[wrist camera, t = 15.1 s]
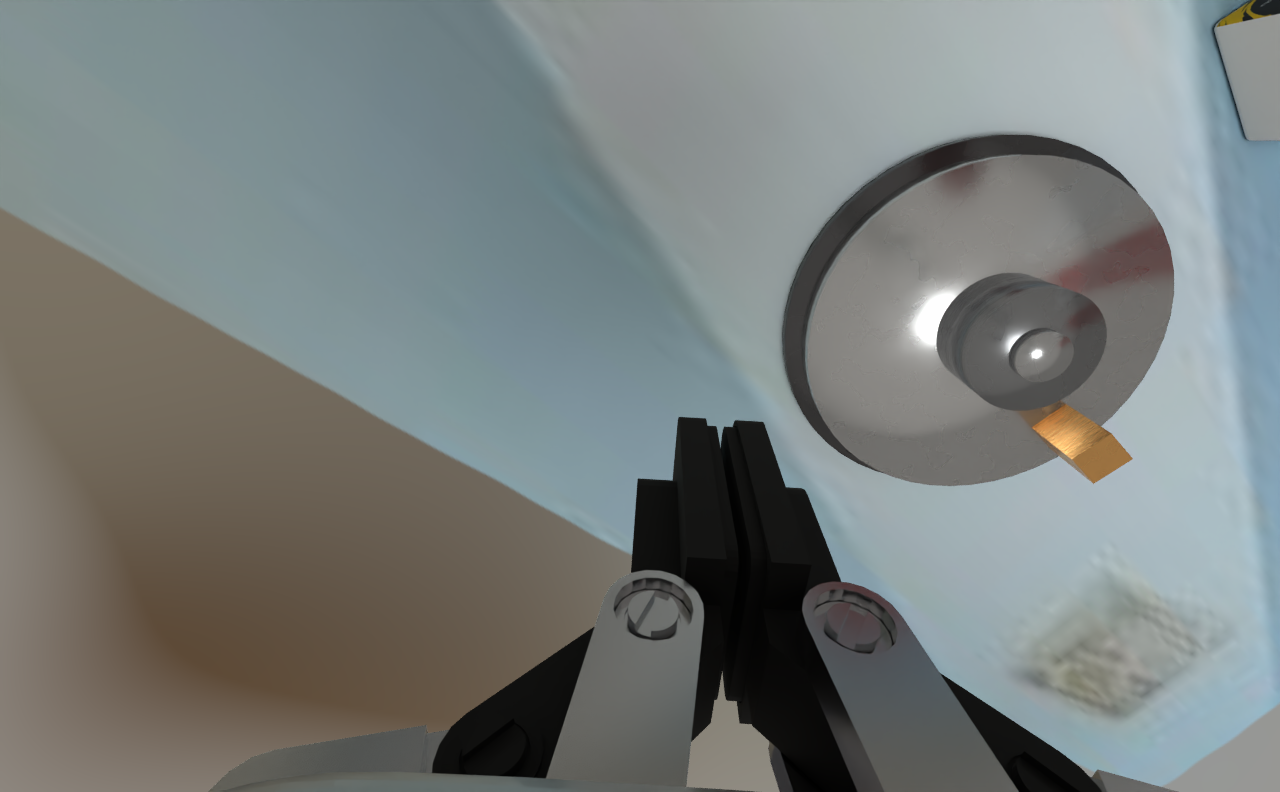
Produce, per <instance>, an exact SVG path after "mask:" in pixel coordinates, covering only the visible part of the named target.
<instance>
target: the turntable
mask: <svg viewBox="0 0 1280 792" xmlns="http://www.w3.org/2000/svg"><path fill="white" fill-rule="evenodd" d="M1011 272H1012V273H1022V274H1027V275H1030V276H1033V277H1036V278H1039V279H1041V280H1044V281H1047V282H1050V283H1052V284H1055V285H1058V286H1061V287H1064V288H1066V289H1069V290H1072V291H1075V292H1077V293H1080V294H1082V295H1084V296H1086V297H1087V298H1089V299H1090V300H1091V301H1093V302H1094V303H1095V304H1096V306H1097V307H1098V308H1099V309H1100V311H1101V313H1102V314H1103V317H1104V320H1105V323H1106V328H1107V339H1106V346H1105V349H1104V353H1103V355H1102V358H1101V360H1100V362H1099V364H1098V365H1097V367H1096V369H1095V370H1094V372H1093V373H1092V374H1091V376H1090V377H1089V378H1088V379H1087V380H1086V381H1085V382H1084V383H1083V384H1082V385H1081V386H1080V387H1079V388H1078V389H1077V390H1075V391H1074V392H1073V393H1071V394H1070V395H1068V396H1067V397H1065V398H1063V399H1062V400H1060V401H1058V402H1056V403H1053V404H1051V405H1048V406H1046V407H1042V408H1038V409H1033V410H1026V411H1013V410H1006V409H1002V408H999V407H996V406H994V405H992V404H990V403H988V402H987V401H985V400H984V399H982V398H981V397H980V396H979V395H977V394H976V393H975V392H974V391H973V390H971V389H970V388H969V387H968V386H966V385H965V384H964V383H963V382H962V381H960V380H959V379H958V378H957V377H955V376H954V375H953V374H952V373H951V372H949V371H948V370H947V369H946V367H945V366H944V365H943V363H942V362H941V360H940V358H939V355H938V352H937V346H936V336H937V330H938V326H939V323H940V320H941V318H942V316H943V314H944V312H945V311H946V309H947V308H948V306H949V305H950V303H951V302H952V301H953V300H954V299H955V298H956V297H957V296H958V295H959V294H960V293H961V292H962V291H963V290H965V289H966V288H967V287H969V286H970V285H972V284H974V283H975V282H977V281H979V280H981V279H984V278H986V277H989V276H992V275H996V274H1001V273H1011ZM1173 296H1174V269H1173V263H1172V257H1171V251H1170V247H1169V244H1168V241H1167V239H1166V236H1165V233H1164V230H1163V228H1162V226H1161V224H1160V223H1159V221H1158V219H1157V218H1156V216H1155V214H1154V212H1153V211H1152V209H1151V208H1150V207H1149V206H1148V205H1147V203H1146V202H1145V201H1144V200H1143V199H1142V198H1141V196H1140V195H1139V194H1138V193H1137V192H1136V191H1134V190H1133V189H1132V188H1131V187H1129V186H1128V185H1127V184H1126V183H1124V182H1123V181H1122V180H1121V179H1119V178H1117V177H1115V176H1114V175H1112V174H1110V173H1108V172H1106V171H1104V170H1103V169H1101V168H1099V167H1096V166H1093V165H1090V164H1087V163H1084V162H1081V161H1078V160H1074V159H1068V158H1063V157H1057V156H1051V155H1014V154H1002V155H993V156H984V157H977V158H973V159H969V160H965V161H960V162H956V163H953V164H950V165H947V166H945V167H942V168H939V169H937V170H934V171H931V172H929V173H927V174H925V175H923V176H921V177H919V178H917V179H915V180H913V181H911V182H909V183H907V184H905V185H904V186H902V187H901V188H899V189H898V190H896V191H895V192H893V193H892V194H890V195H889V196H887V197H886V198H884V199H883V200H882V201H881V202H879V203H878V204H877V205H876V206H875V207H873V208H872V209H871V210H870V211H869V212H867V213H866V214H865V215H864V216H863V217H862V218H861V219H860V220H859V221H858V222H857V223H856V224H855V225H854V226H853V227H852V229H851V230H850V231H849V232H848V233H847V234H846V235H845V236H844V238H843V239H842V240H841V242H840V243H839V244H838V246H837V247H836V248H835V250H834V251H833V252H832V254H831V255H830V257H829V259H828V260H827V262H826V264H825V266H824V267H823V269H822V271H821V272H820V274H819V277H818V279H817V281H816V283H815V286H814V288H813V290H812V293H811V295H810V299H809V302H808V306H807V309H806V312H805V317H804V323H803V330H802V347H801V355H802V363H803V371H804V376H805V379H806V383H807V386H808V390H809V392H810V394H811V397H812V399H813V401H814V403H815V405H816V407H817V409H818V411H819V413H820V415H821V416H822V418H823V420H824V422H825V423H826V425H827V426H828V428H829V429H830V431H831V432H832V434H833V435H834V436H835V437H836V438H837V439H838V441H839V442H840V443H841V444H842V445H843V446H844V447H845V448H846V449H847V450H848V451H849V452H851V453H852V454H853V455H854V456H856V457H857V458H858V459H859V460H861V461H863V462H864V463H866V464H867V465H869V466H871V467H872V468H874V469H876V470H878V471H881V472H883V473H885V474H888V475H890V476H892V477H896V478H899V479H903V480H906V481H910V482H915V483H921V484H927V485H942V486H957V485H972V484H978V483H984V482H991V481H995V480H999V479H1003V478H1006V477H1010V476H1014V475H1017V474H1019V473H1022V472H1025V471H1027V470H1030V469H1033V468H1035V467H1037V466H1040V465H1042V464H1044V463H1046V462H1048V461H1050V460H1052V459H1054V458H1056V457H1058V456H1060V457H1061V458H1062V459H1063V460H1065V461H1066V462H1067V463H1068V464H1070V465H1071V466H1072V467H1073V468H1075V469H1076V470H1077V471H1078V472H1080V473H1081V474H1082V475H1083V476H1085V477H1086V478H1087V479H1088V480H1090V481H1091V482H1092V483H1093V484H1094V483H1095V482H1097V481H1098V480H1100V479H1102V478H1103V477H1105V476H1106V475H1108V474H1110V473H1111V472H1113V471H1114V470H1116V469H1118V468H1119V467H1121V466H1122V465H1124V464H1125V463H1127V462H1129V461H1130V460H1132V457H1131V456H1130V455H1129V454H1128V453H1127V452H1126V450H1125V449H1124V448H1123V447H1122V446H1121V444H1120V443H1119V442H1118V441H1117V440H1116V439H1115V437H1114V436H1113V435H1112V434H1111V433H1110V432H1108V431H1107V430H1105V429H1104V428H1102V427H1101V426H1102V425H1103V424H1104V423H1105V422H1106V421H1107V420H1108V419H1110V418H1111V417H1112V416H1113V415H1114V414H1115V413H1116V411H1117V410H1118V409H1119V408H1120V407H1121V406H1122V405H1123V404H1124V403H1125V402H1126V401H1127V400H1128V398H1129V397H1130V396H1131V394H1132V393H1133V392H1134V390H1135V389H1136V388H1137V386H1138V385H1139V384H1140V382H1141V381H1142V380H1143V378H1144V376H1145V375H1146V373H1147V371H1148V370H1149V368H1150V366H1151V364H1152V363H1153V361H1154V359H1155V357H1156V355H1157V353H1158V350H1159V348H1160V346H1161V343H1162V341H1163V339H1164V336H1165V333H1166V329H1167V326H1168V323H1169V319H1170V316H1171V309H1172V303H1173Z"/></svg>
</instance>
